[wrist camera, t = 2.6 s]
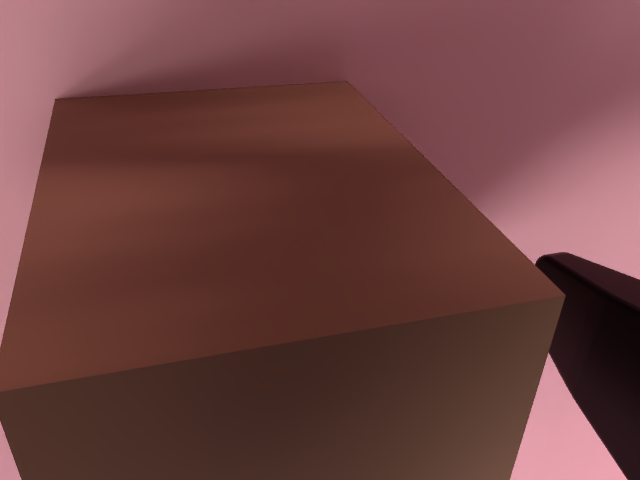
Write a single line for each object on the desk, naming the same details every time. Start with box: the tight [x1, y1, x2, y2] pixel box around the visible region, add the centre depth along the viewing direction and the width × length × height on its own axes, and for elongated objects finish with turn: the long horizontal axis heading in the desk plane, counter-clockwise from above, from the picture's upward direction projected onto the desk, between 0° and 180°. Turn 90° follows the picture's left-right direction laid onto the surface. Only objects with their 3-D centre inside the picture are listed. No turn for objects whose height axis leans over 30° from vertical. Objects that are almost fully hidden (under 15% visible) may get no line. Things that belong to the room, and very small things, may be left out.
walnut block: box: [0, 81, 566, 480], centre depth 8 cm, size 4×4×6 cm
